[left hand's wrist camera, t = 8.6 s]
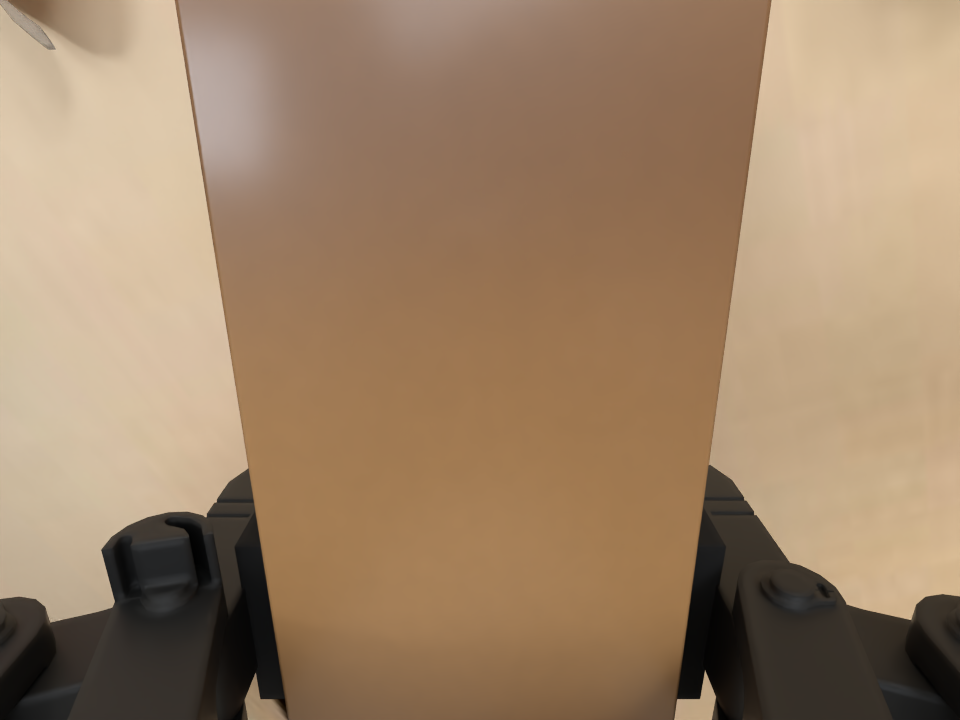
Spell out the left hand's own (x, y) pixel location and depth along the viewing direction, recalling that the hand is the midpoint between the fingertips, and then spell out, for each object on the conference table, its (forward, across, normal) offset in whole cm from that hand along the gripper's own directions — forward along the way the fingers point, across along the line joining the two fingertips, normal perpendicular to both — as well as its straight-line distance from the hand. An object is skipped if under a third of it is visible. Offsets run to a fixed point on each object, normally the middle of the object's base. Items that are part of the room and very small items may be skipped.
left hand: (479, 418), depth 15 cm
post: (0, 0, -21) cm, 21 cm away
